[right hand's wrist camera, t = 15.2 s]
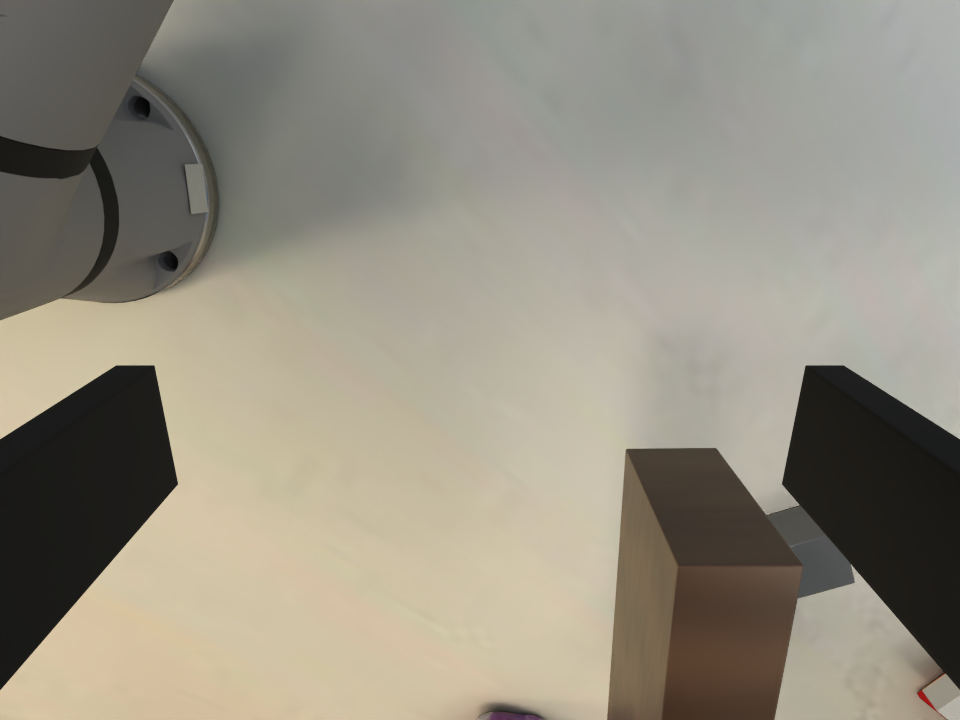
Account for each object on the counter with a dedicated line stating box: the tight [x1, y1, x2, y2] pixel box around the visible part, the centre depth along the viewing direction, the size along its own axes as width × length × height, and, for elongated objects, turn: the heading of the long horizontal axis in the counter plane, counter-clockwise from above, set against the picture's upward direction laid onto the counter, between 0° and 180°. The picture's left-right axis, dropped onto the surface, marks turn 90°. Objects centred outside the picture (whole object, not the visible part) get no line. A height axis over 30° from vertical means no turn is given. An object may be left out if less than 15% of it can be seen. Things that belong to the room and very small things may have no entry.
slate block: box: [767, 506, 855, 598], centre depth 47 cm, size 5×5×4 cm
